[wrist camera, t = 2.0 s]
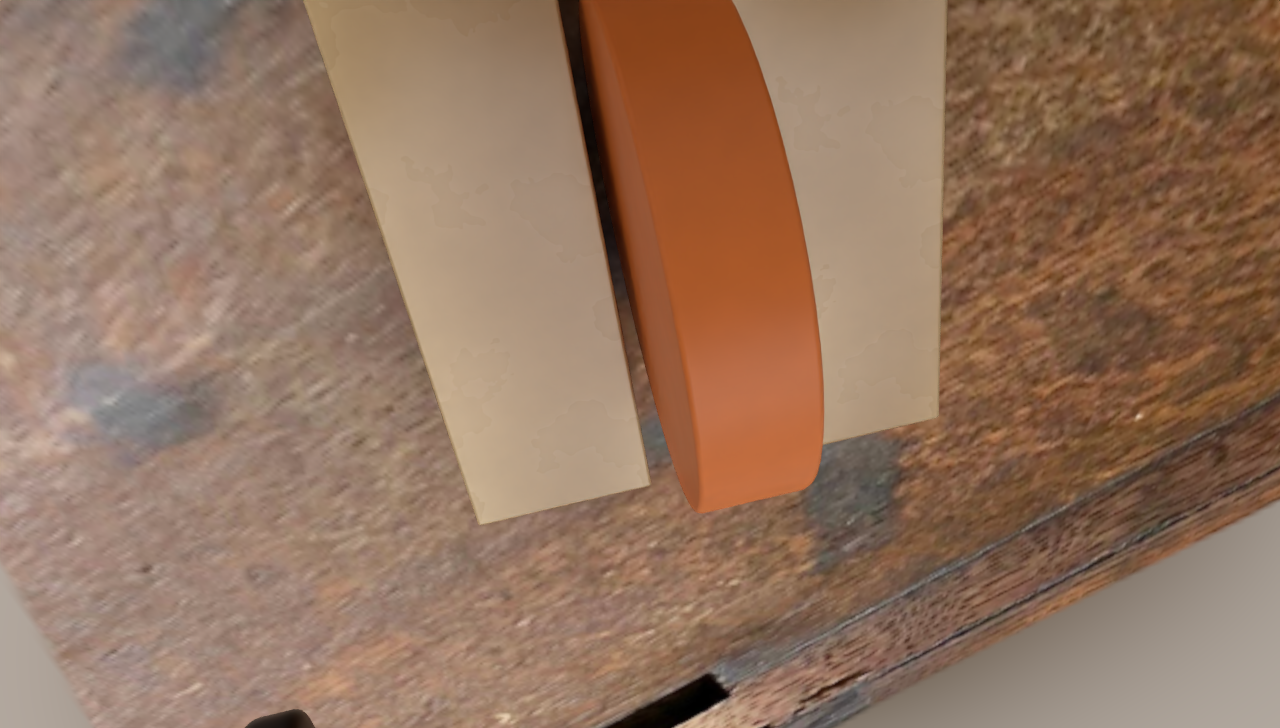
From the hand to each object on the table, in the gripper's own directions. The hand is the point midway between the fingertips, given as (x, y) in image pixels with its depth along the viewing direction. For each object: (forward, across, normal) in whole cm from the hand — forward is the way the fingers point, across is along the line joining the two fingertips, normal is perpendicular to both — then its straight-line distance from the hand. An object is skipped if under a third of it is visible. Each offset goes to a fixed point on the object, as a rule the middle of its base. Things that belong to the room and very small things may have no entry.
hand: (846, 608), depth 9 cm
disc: (+10, 0, 0) cm, 10 cm away
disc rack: (+10, 0, 0) cm, 10 cm away
